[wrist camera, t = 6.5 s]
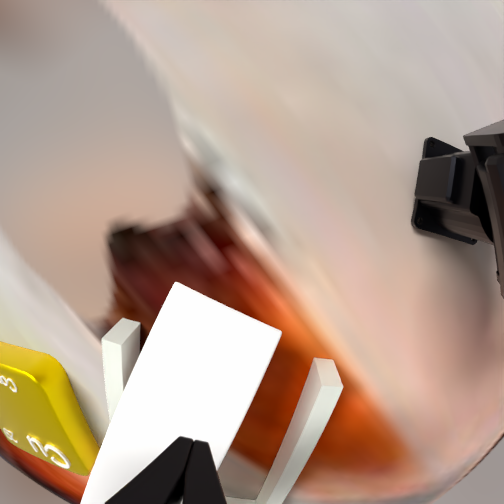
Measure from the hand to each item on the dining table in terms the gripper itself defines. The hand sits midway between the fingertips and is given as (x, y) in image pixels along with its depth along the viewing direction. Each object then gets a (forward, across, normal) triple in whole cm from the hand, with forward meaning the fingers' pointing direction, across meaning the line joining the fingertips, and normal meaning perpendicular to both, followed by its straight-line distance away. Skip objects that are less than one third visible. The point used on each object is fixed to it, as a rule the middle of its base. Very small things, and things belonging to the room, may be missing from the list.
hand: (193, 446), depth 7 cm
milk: (+11, 0, 0) cm, 11 cm away
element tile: (+14, +20, +19) cm, 31 cm away
